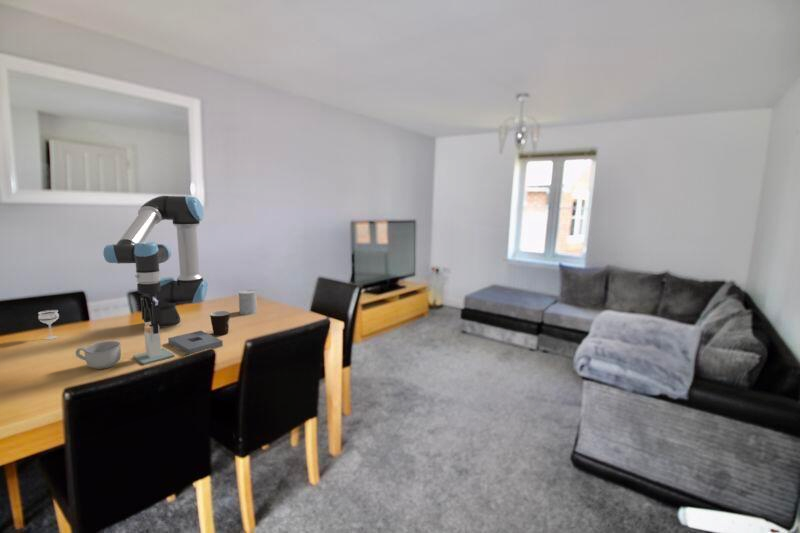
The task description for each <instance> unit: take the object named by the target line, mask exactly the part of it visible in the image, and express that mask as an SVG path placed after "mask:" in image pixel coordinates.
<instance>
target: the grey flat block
mask: <svg viewBox="0 0 800 533" xmlns="http://www.w3.org/2000/svg"><path fill="white" fill-rule="evenodd" d="M167 340H168V344H169V345H170V346H172V347H173V348H176V349H177V350H179V351H181V352H183V353H185V354H186V355H188V356H190V355H189V354H192V353H195V352H198V351H202V350H205V349H209V348H214V349H217V348H221V347H223V343H224V342H223V340H222V339H220V338H218V337H215V335H211V334H209V333H207V332H204V331H202V330H197V331H193V332H189V333H184V334H181V335H176V336H170V337H168V339H167ZM195 354H196V353H195ZM192 355H193V354H192Z"/></svg>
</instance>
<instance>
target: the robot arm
mask: <svg viewBox="0 0 800 533" xmlns="http://www.w3.org/2000/svg"><path fill="white" fill-rule="evenodd" d="M137 214H138V215H137V216H136V218H135V219H134V221H133V222H132V223H131V224H130V226H129V227H128V228H127V230H126V231H125V233H123V235H122V236H121V238H120V239H119V241H117V243H116V244H115V243H112V244H108V245H107V244H106V245H105V247H104V248H103V253H102V254H103V257H104V260H105V261H106V262H107V263H109V264H118V265H119V264H135V272H136V274H135V276H134V277H135V278H136V282H137V284H136V285H137V286H136V290H137V293H138V294H140V296H139V299H140V308H141V309H140V310H141V319H142V320H143V322H144V326H150V330H151V342H155V341H159V340H160V341H161V336H160V337H159V328H166V327H173V326H175V325H177V324H180V323H181V315H180V314H179V312H178V309H177V307H176V304H197V303H198V304H199V303H202V302H204V301H205V299H206V296H207V293H208V281H207V280H205V279H204V276H203V275H202V274H200V265H199V248H198V234H197V227H198V226H199V225H200V222H201V221H203V219H204V210H203V204H202V202H201V201H200V200H199V198H197V197H195V196H188V195H160V196H157V197H154V198H151V199H150V200H148V201H146V202H145V203H144V204H143V205H142V206H140V208H139V210H138V211H137ZM165 220H166V221H172V225H173V226H174V227H175V228H176V235H177V236H176V237H177V250H178V265H179V275H178V276H177V278H176V280H175V278H174V277H161V274H160V273H161V272H160V264H161V263H162V264H163V263H166V262H167V261H168V260H170V258H171V257H172V250H171V248H170V247H169V246H168V245H166V244H163V243H162V244H161V243H159V244H158V243H156V242H153V241H146V239H147V238H148V236H149V234H150V233H151V232H152V230H153V229H154V228H155V226H156V225H157V224H159V223H161V221H165ZM141 294H142V295H141Z"/></svg>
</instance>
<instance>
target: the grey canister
mask: <svg viewBox="0 0 800 533" xmlns="http://www.w3.org/2000/svg"><path fill="white" fill-rule="evenodd" d="M257 292H258V291H257V290H255V289H254V290H253V289H243V290H240V291H238V304H239V306H238V307H239V308H238V309H239V314H240V315H244V316H249V315H255V314H257V313H258V304H257V303H258V301H257Z"/></svg>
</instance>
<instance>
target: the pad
mask: <svg viewBox="0 0 800 533" xmlns="http://www.w3.org/2000/svg"><path fill="white" fill-rule="evenodd" d="M175 357H176V356H175V354H174V353H172V352H171V351H169V350H167V349H165V348H163V347H161V355H159V356H156V357H152V358H150V357H148V356H147V355H146V352H143V353H138V354H134V355H132V358H133V359H134V360H136V361H137V362H138V363H139V364H141V365H143V366H146V365H149V364H153V363H157V362H160V361H164V360H167V359H172V358H175Z"/></svg>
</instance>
